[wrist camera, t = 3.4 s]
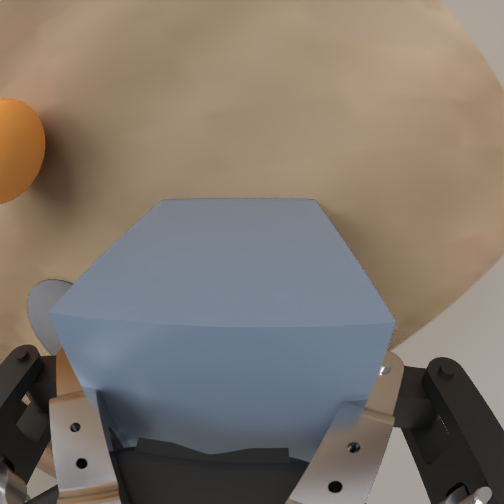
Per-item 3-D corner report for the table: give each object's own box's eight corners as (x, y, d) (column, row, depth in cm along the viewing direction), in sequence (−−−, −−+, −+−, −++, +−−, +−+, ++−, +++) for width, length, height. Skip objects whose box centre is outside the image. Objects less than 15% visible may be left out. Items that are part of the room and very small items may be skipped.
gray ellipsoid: (14, 276, 15) (12, 277, 15) (109, 282, 15) (108, 284, 15) (52, 366, 18) (51, 367, 18) (140, 383, 18) (139, 385, 18)
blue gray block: (162, 199, 13) (47, 312, 5) (314, 199, 13) (396, 321, 5) (177, 322, 16) (132, 465, 8) (303, 324, 16) (330, 475, 8)
